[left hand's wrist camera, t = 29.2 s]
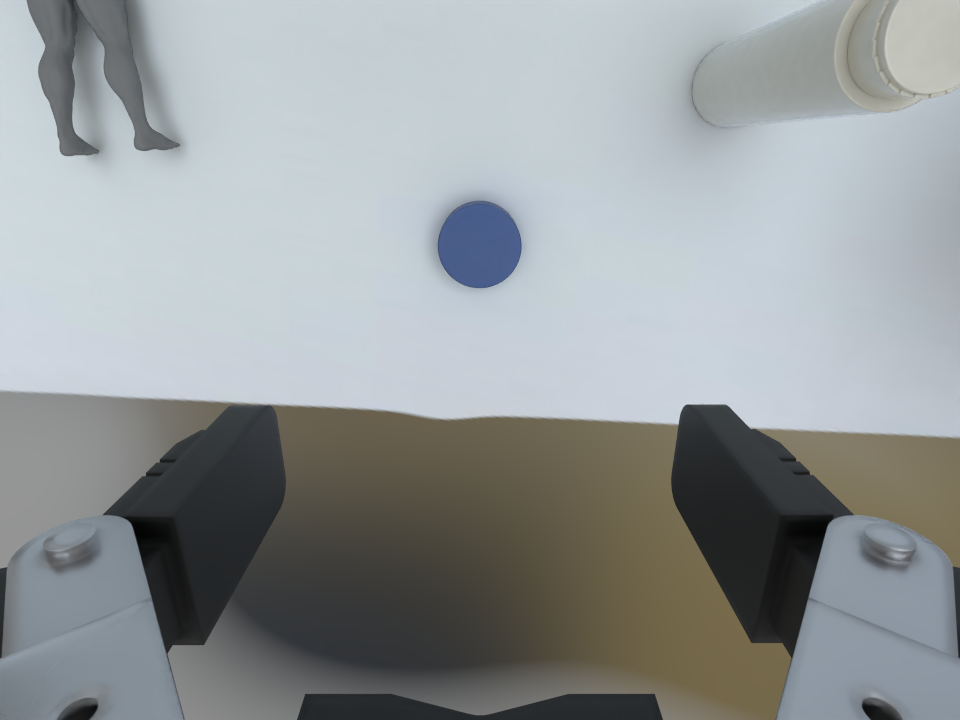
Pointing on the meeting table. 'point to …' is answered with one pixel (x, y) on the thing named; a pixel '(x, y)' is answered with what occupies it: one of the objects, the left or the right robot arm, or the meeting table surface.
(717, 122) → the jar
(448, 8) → the meeting table surface
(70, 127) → the figurine
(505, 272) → the lid
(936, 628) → the left robot arm
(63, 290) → the meeting table surface
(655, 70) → the meeting table surface
